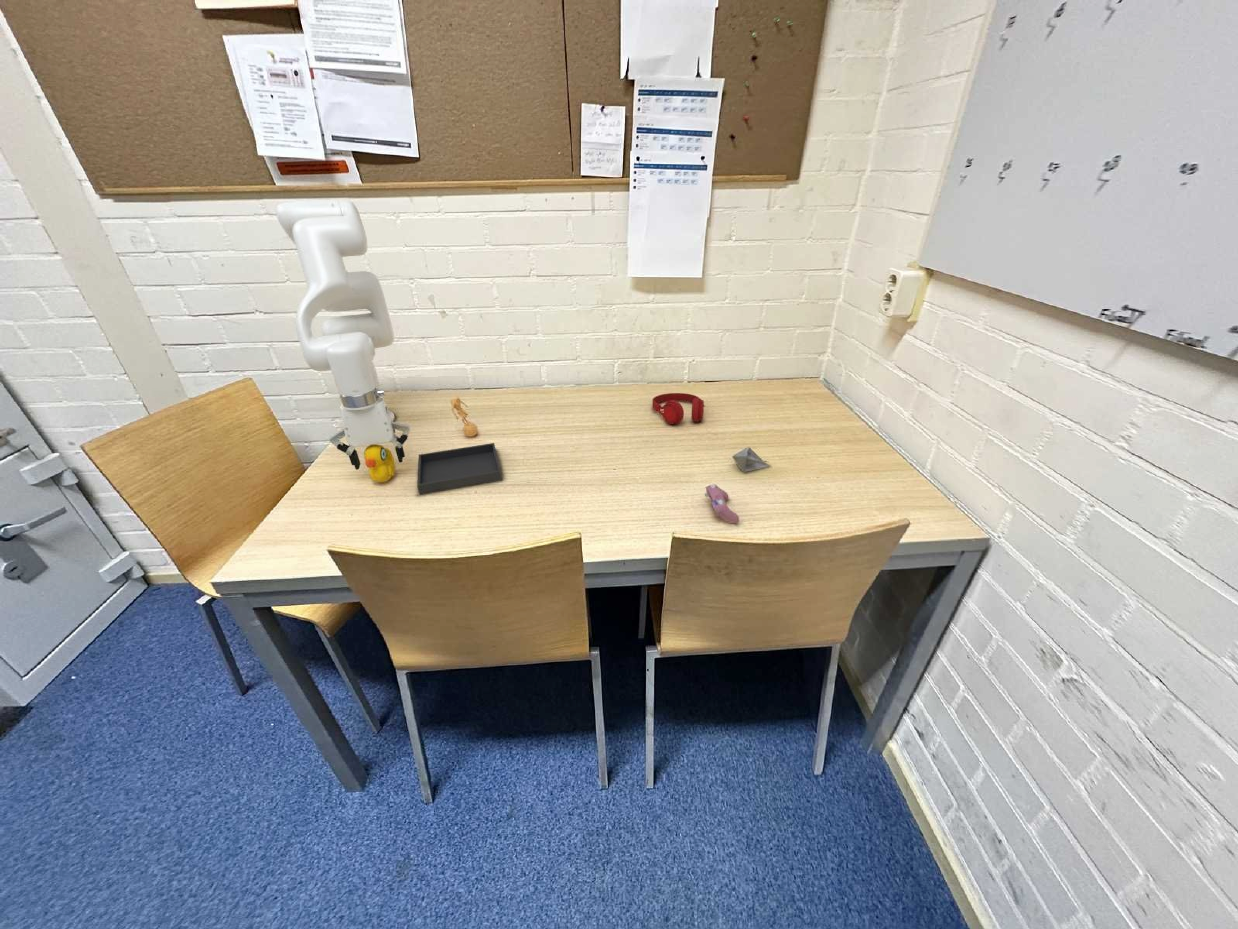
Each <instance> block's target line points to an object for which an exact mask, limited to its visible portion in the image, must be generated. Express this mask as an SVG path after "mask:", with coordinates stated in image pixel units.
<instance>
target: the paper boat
mask: <svg viewBox="0 0 1238 929" xmlns="http://www.w3.org/2000/svg"><path fill="white" fill-rule="evenodd" d="M731 458H732V459H733V460H734V462H735V463H736V465H737V467H738V468H739V469H740V471H741V472H743V473H748V472H752V471H755V470H759V469H764V468H767V467H769V464H767V463H769V461H767V460H763V459H762V458H761V457H760V455H758V454H757V453H756V452H755V451H754V450H753V449H752V448H751V447H750V446H749V447H745V448H743V449H742V450H740V451H738V452H736V453H735V454H733V455H732V456H731Z"/></svg>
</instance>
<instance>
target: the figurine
mask: <svg viewBox="0 0 1238 929" xmlns="http://www.w3.org/2000/svg"><path fill="white" fill-rule="evenodd" d="M449 403H450V405H451V408H450V409H451V411H452V413H453V415H454V417H455V420H460V417H461V421H462V423H463V424H464V425H463V427H462V432H463V434H464V435H465V436H466V437H470V438H473V437H474V436H476V435H477V433H478V427H477V425H476V424H475V423H473V422H471V421H469V420H467V417H468V415H469V413H468V412H467V411H466V410H464V408H462V405H463V406H465V407H466V408H469V406H468V405H467V404H466V403H465V402H463V401H462V400H461V398H460V397H459V396H457V397H456V398H452V399H450V402H449ZM454 409H455V410H456V411H457V412H456V411H455V410H454ZM457 414H458V416H457ZM459 416H460V417H459Z"/></svg>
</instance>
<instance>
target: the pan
mask: <svg viewBox="0 0 1238 929" xmlns="http://www.w3.org/2000/svg"><path fill="white" fill-rule="evenodd" d="M417 459H418V461H417V462H418V463H417V483H416V486H417V489H418V494H419V495H420V496H421V495H428V494H433V493H438V492H443V491H450V490H456V489H461V488H467V487H472V486H478V485H484V484H490V483H494V482H500V481H501V482H502V481H503V476H502V471H501V467H500V462H499V458H498V453H497V448H496V445H495V442H490V443H484V444H478V445H470V446H465V447H459V448H451V449H445V450H439V451H433V452H426V453H421V454H418V458H417Z"/></svg>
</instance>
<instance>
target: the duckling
mask: <svg viewBox="0 0 1238 929" xmlns="http://www.w3.org/2000/svg"><path fill="white" fill-rule="evenodd" d="M363 457H364V460H365V461H364V464H365V466H366V467H367V468H368V474H369V477H370V479H371V480H372V481H374V482H377V483H385V482H388V481H389V480H390V479H391V477H394V476H395V473H396V464H395V459H394V455H393V453H392V451H391V450H390V449H389V448H387V447H384V446H383V445H381V444H375V445H368V446H366V447H365V450H364V452H363Z"/></svg>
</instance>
